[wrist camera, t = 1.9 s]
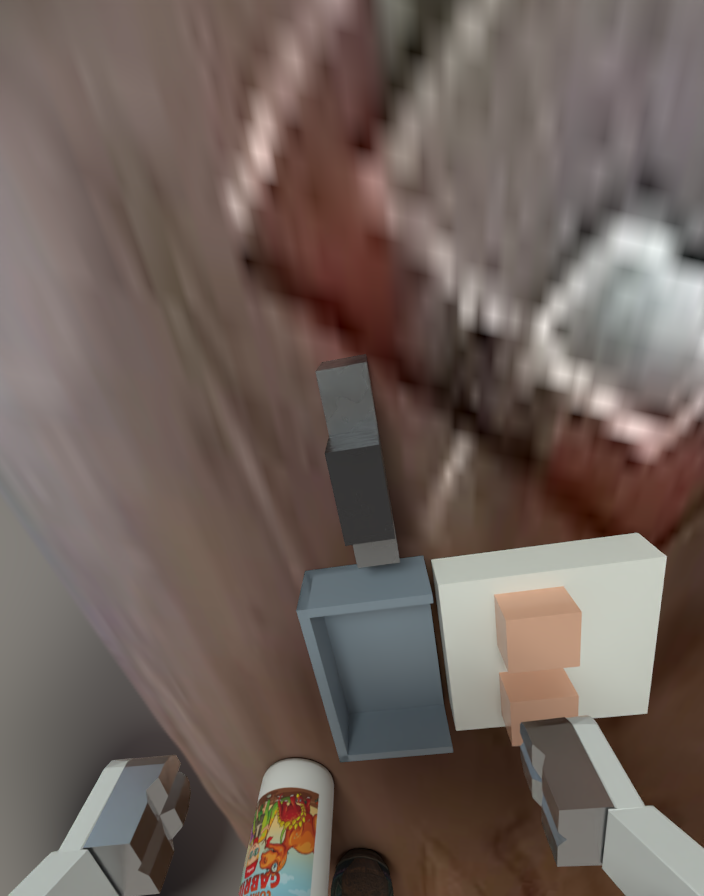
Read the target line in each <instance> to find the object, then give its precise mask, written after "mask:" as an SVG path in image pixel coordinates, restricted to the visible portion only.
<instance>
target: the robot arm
mask: <svg viewBox="0 0 704 896" xmlns="http://www.w3.org/2000/svg"><path fill="white" fill-rule="evenodd" d="M520 734H521V737H522V739H523V743H522V744H521V746H520V751H521V760H522V765H523V770H524V774H525V777H526V780H527V784H528V786H529V789H530V792H531V795H532V798H533V799H534V800H535V801H536V802H537V803H538V804H539V805H540V806H541V807H542V826H543V829H544V831H545V834H546V837H547V840H548V842H549V845H550V848H551V851H552V853H553V856H554V859H555V862H556V864H557V867H560V866H590V865H602V869H603V870H604V871H605V872H606V873H607V875H608V876H609V877H610V878H611V879H612V880H613V882H614V883H615V884H616V885H617V886H618V887H619V889H620V890H621V891H622V892H623V893H624V894H625V895H626V896H704V848H703V847H702V846H700V845H699V844H698V843H697V842H696V841H694V840H693V839H692V838H691V837H690V836H688V835H687V834H686V833H685V832H684V831H683V830H681V829H680V828H679V827H678V826H677V825H675V824H674V823H673V822H672V821H671V820H669V819H668V818H667V817H666V816H665V815H664V814H662V813H661V812H660V811H659V810H658V809H656V808H655V807H654V806H645V805H644V803H643V801H642V800H641V798H640V796H639V795H638V793H637V791H636V789H635V788H634V786H633V784H632V783H631V781H630V779H629V777H628V776H627V774H626V772H625V771H624V769H623V767H622V765H621V764H620V762H619V760H618V759H617V757H616V755H615V753H614V752H613V750H612V748H611V747H610V745H609V743H608V741H607V740H606V738H605V736H604V735H603V733H602V731H601V729H600V728H599V726H598V724H597V723H596V721H595V720H594V719H593V718H592V717H591V716H588V715H585V716H576V717H566V718H565V717H561V718H553V719H544V720H535V721H527V722H521V724H520ZM180 764H181V763H180V762H179V760H178V758H177V757H176V755H168V756H158V757H147V758H130V759H122V760H112V761H111V762H110V763H109V764H108V765H107V767H106V768H105V769H104V770H103V772H102V774H101V776H100V777H99V779H98V781H97V783H96V784H95V786H94V788H93V790H92V792H91V793H90V795H89V797H88V799H87V801H86V803H85V804H84V806H83V808H82V809H81V811H80V813H79V815H78V817H77V819H76V820H75V822H74V824H73V826H72V827H71V829H70V831H69V833H68V835H67V836H66V838H65V840H64V842H63V844H62V845H61V847H60V849H59V851H55V852H51V853H50V854H49V855H48V856H47V857H46V858H45V859H44V860H43V861H42V862H41V863H40V864H39V865H38V866H37V867H36V868H35V869H34V870H33V871H32V872H31V873H30V874H29V875H28V876H27V877H26V878H25V879H24V880H23V881H22V882H21V883H20V884H19V885H18V886H17V887H16V888H15V889H14V890H13V891H12V892H11V893H10V894H9V895H8V896H139V895H149V894H158V893H160V891H161V888H162V885H163V883H164V879H165V876H166V874H167V871H168V868H169V865H170V862H171V859H172V856H173V853H174V848H173V841H172V838H173V837H174V836H175V834H176V833H177V832H178V831H179V830H180V829H181V827H182V826H183V824H184V821H185V818H186V814H187V812H188V808H189V801H190V794H191V792H190V783H189V781H188V778H187V776H186V775H184V774H183V773H181V772H180V771H178V769H179V766H180Z"/></svg>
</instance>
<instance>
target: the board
mask: <svg viewBox="0 0 704 896" xmlns="http://www.w3.org/2000/svg"><path fill="white" fill-rule="evenodd" d="M666 558H667V556H665V555H664V554H663V553H662V552H661V551H659V550H658V549H657V548H656V547H654V546H653V545H652V544H651V543H650V542H648V541H647V540H646V539H645V538H644V537H642V536H641V535H640V534H639V533H632V534H625V535H617V536H609V537H602V538H594V539H586V540H579V541H571V542H563V543H556V544H548V545H540V546H532V547H525V548H517V549H509V550H502V551H494V552H486V553H479V554H471V555H463V556H456V557H448V558H440V559H433V560H431V563H432V571H433V578H434V586H435V594H436V602H437V609H438V617H439V625H440V633H441V640H442V648H443V656H444V664H445V672H446V679H447V687H448V695H449V701H450V705H451V710H452V714H453V719H454V724H455V728H456V731H460V730H471V729H482V728H493V727H504V726H505V723H504V720H503V718H502V713H501V698H500V682H499V673H500V672H508V671H507V669H506V666H505V664H504V661H503V658H502V656H501V653H500V651H499V648H498V646H497V634H496V619H495V603H494V594H502V593H511V592H519V591H527V590H536V589H544V588H552V587H561V586H564V588H565V589H566V590H567V592H568V593H569V595H570V596H571V597H572V599H573V600H574V602H575V603H576V604H577V606H578V607H579V609H580V610H581V611H582V622H581V650H580V666H578V667H569V668H564V670H565V672H566V674H567V675H568V677H569V679H570V681H571V683H572V684H573V686H574V688H575V690H576V692H577V693H578V695H579V706H578V716H585V715H588V716H591V717H592V718H603V717H614V716H625V715H636V714H647V711H648V703H649V695H650V687H651V679H652V671H653V662H654V654H655V646H656V638H657V630H658V622H659V614H660V606H661V598H662V590H663V582H664V574H665V566H666Z"/></svg>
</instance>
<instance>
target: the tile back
mask: <svg viewBox="0 0 704 896" xmlns="http://www.w3.org/2000/svg"><path fill="white" fill-rule="evenodd" d="M499 682H500V698H501V713H502V718H503V720H504V723H505V726H506V729H507V732H508V735H509V738H510V741H511V744H512V746H521V744H522V743H523V739H522V737H521V734H520V724H521V722H527V721H535V720H544V719H553V718H561V717H565V718H566V717H576V716H578V706H579V695H578V693H577V692H576V690H575V688H574V686H573V684H572V683H571V681H570V679H569V677H568V675H567V674H566V672H565V670H564V668H559V669H549V670H539V671H530V672H520V673H510V674H508V672H500V673H499Z"/></svg>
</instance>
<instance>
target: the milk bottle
mask: <svg viewBox="0 0 704 896" xmlns="http://www.w3.org/2000/svg"><path fill="white" fill-rule="evenodd" d="M333 801H334V782H333V779H332V776H331V774H330V773H329V771H328V770H327V769H326V768H325V767H324V766H322V765H321V764H319V763H317V762H315V761H312V760H308V759H303V758H288V759H284V760H280V761H278V762H276V763H274V764H273V765H271V766H270V767H269V768H268V770H267V771H266V773H265V775H264V777H263V781H262V785H261V789H260V793H259V798H258V803H257V807H256V812H255V817H254V822H253V826H252V831H251V836H250V840H249V845H248V850H247V855H246V859H245V864H244V869H243V874H242V879H241V884H240V889H239V894H238V896H328V882H329V867H330V851H331V835H332V818H333Z"/></svg>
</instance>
